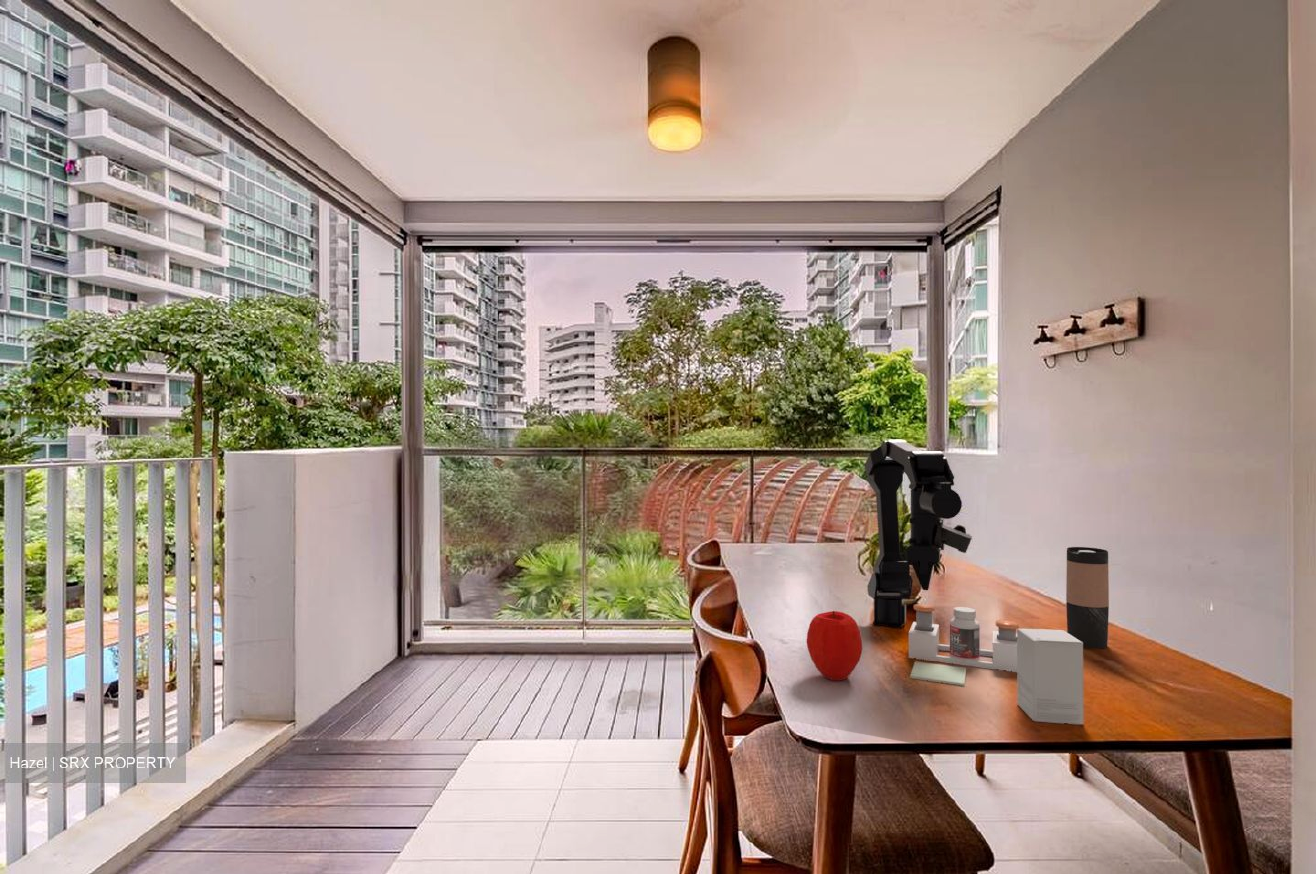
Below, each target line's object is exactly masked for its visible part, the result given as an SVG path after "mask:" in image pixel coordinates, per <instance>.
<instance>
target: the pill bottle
mask: <svg viewBox="0 0 1316 874" xmlns="http://www.w3.org/2000/svg"><path fill="white" fill-rule="evenodd" d="M976 615H977V613H976V609H974V608H971V607H965V606H956V607H954V608H953V616H954V617H953V618H951V620H950V621H949V645H950V651H949V657H955V658H963V659H970V660H978V661H980V656H981V655H980V649H981V648H980V645H981V644H980V641H981V640H980V639H981V638H980V634H981V633H980V632H981V631H980V629H981V627H980V623H979V621H978V620H975V619H976V617H977V616H976Z"/></svg>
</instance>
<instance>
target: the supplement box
mask: <svg viewBox="0 0 1316 874" xmlns="http://www.w3.org/2000/svg"><path fill="white" fill-rule="evenodd" d="M1016 633H1017V672H1016V673H1017V674H1016V676H1017V678H1016V679H1017V680H1016V681H1017V691H1016V693H1017V694H1016V695H1017V699H1016V700H1017V701H1016V703H1017V706H1019V707H1020V708H1021V709H1022V710H1023V712H1024V713H1025V714H1026V715H1027V716H1028V717H1029V718H1030V719H1031V720H1032V721H1033V722H1040V723H1051V724H1052V723H1053V724H1064V723H1068V724H1069V725H1083V724H1084V647H1083V642H1081V641H1080V640H1078V639H1076V638H1075V637H1073V636H1072V635H1070V634H1069V633H1067V631H1066V630H1064V629H1048V628H1046V629H1045V628H1018V629H1016ZM1068 724H1067V725H1068Z"/></svg>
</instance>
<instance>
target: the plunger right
mask: <svg viewBox="0 0 1316 874" xmlns="http://www.w3.org/2000/svg"><path fill="white" fill-rule="evenodd" d="M995 626H996V627H998V631H999V640H1007V641H1015V642H1016V633H1017V629H1020V624H1019V623H1018V622H1016V621H1011V620H996V621H995Z"/></svg>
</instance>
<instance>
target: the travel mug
mask: <svg viewBox="0 0 1316 874" xmlns="http://www.w3.org/2000/svg"><path fill="white" fill-rule="evenodd" d="M1065 577H1066V580H1065V581H1066V586H1065V587H1066V588H1065V594H1066V595H1065V596H1066V598H1065V600H1066V601H1065V602H1066V603H1065V605H1066V628H1067V631H1066V632H1067V633H1069V634H1070V635H1072V636H1073V637H1075V638H1076V639H1078V640H1080V641H1081V642H1083V649H1093V650H1102V649H1107V648H1108V638H1109V637H1108V636H1109V616H1110V615H1109V613H1110V611H1109V610H1110V608H1109V606H1110V598H1109V597H1110V594H1109V593H1110V591H1109V589H1110V587H1109V550H1108V549H1107V550H1106V549H1104V548H1097V547H1087V546H1086V547H1085V546H1071V547H1070V546H1069V547H1067V548H1066V576H1065Z"/></svg>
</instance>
